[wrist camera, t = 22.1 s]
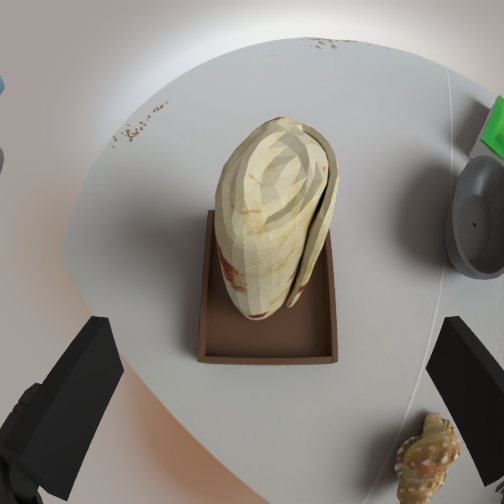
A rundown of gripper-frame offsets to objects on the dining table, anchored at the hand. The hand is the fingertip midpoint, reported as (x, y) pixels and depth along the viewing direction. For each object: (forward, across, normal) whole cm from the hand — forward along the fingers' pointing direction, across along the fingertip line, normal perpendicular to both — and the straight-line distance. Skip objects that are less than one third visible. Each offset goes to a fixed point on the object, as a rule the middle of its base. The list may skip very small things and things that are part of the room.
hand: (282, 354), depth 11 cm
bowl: (+26, +29, -3) cm, 39 cm away
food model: (+20, 0, -8) cm, 21 cm away
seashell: (+6, +17, -23) cm, 29 cm away
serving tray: (+20, 0, -8) cm, 22 cm away
